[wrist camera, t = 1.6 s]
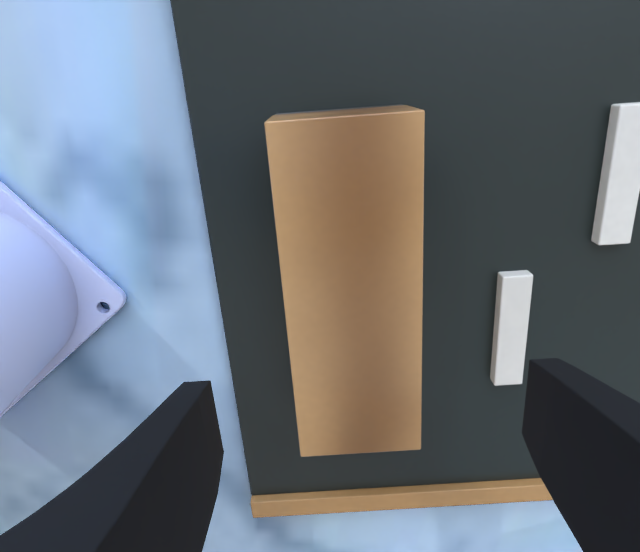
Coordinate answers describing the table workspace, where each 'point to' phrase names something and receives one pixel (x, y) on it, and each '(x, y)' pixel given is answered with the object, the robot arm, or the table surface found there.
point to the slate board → (439, 218)
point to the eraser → (352, 272)
